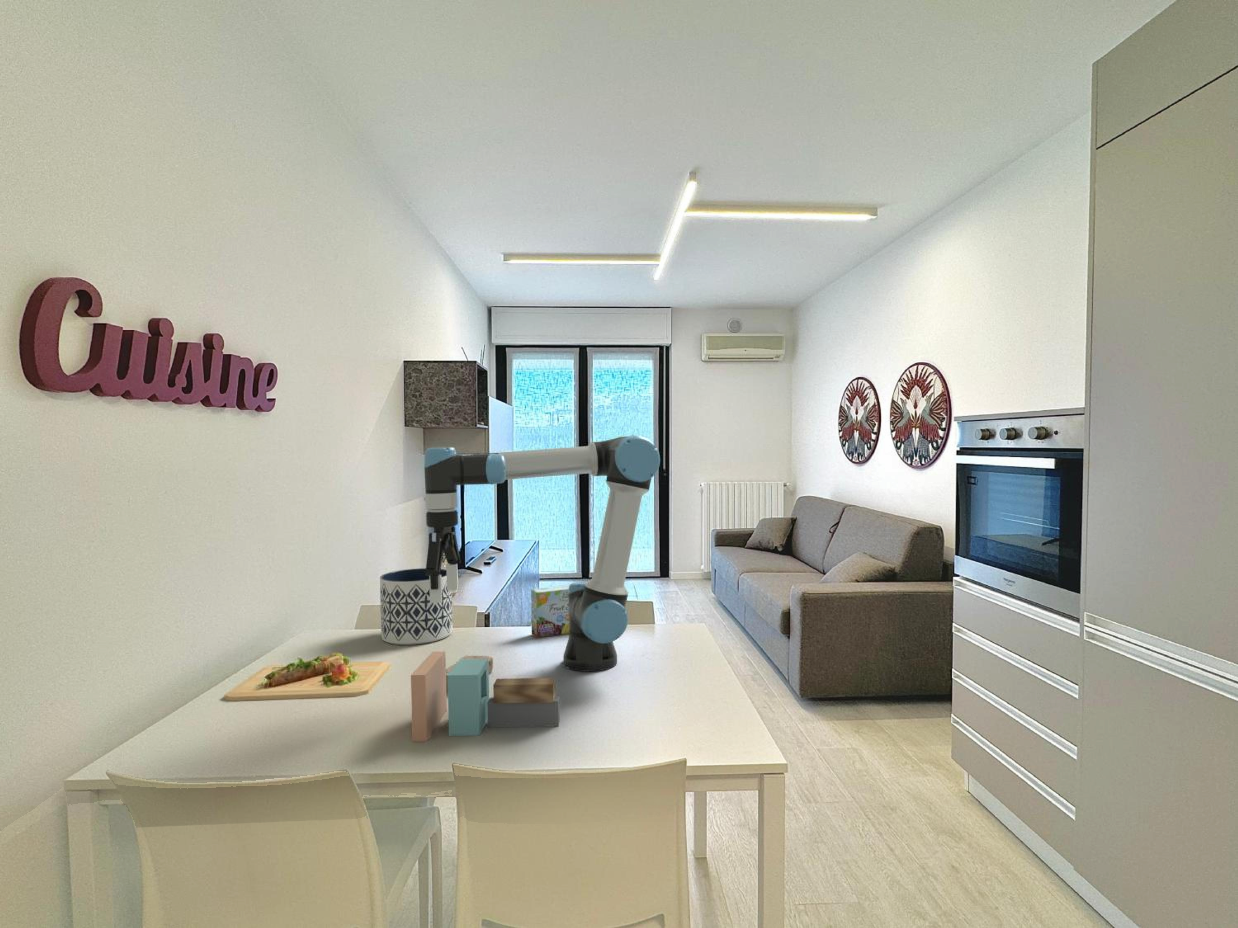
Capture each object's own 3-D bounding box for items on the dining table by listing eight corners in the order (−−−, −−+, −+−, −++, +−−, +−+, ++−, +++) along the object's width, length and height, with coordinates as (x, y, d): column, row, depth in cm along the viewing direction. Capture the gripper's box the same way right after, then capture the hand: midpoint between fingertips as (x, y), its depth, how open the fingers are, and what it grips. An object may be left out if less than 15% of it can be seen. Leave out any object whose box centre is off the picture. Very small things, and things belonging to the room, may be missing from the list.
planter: (390, 628, 230) (388, 569, 229) (456, 625, 232) (455, 566, 231) (373, 647, 207) (371, 582, 207) (447, 644, 210) (446, 579, 209)
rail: (559, 720, 150) (559, 696, 150) (558, 725, 147) (558, 701, 147) (490, 721, 150) (489, 697, 150) (487, 726, 147) (487, 702, 147)
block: (489, 714, 154) (488, 658, 154) (479, 735, 143) (478, 674, 143) (461, 714, 154) (459, 658, 154) (448, 735, 143) (447, 675, 143)
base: (446, 710, 157) (445, 651, 156) (426, 740, 141) (425, 674, 140) (433, 710, 157) (432, 651, 156) (412, 741, 141) (410, 675, 140)
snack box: (537, 639, 214) (536, 592, 214) (531, 634, 219) (530, 588, 219) (597, 629, 224) (596, 584, 223) (590, 625, 229) (589, 581, 228)
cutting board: (392, 667, 190) (391, 641, 190) (366, 698, 167) (365, 668, 167) (265, 671, 188) (264, 645, 188) (221, 703, 165) (220, 673, 165)
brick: (465, 694, 168) (465, 675, 167) (435, 691, 170) (435, 673, 170) (494, 672, 184) (494, 655, 183) (466, 670, 186) (466, 653, 186)
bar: (555, 695, 150) (554, 677, 150) (553, 702, 146) (552, 684, 146) (497, 696, 150) (496, 678, 150) (493, 703, 146) (493, 684, 146)
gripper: (442, 505, 178) (444, 585, 178) (408, 515, 153) (412, 608, 153) (470, 505, 177) (472, 584, 178) (441, 515, 152) (444, 608, 153)
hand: (444, 595), depth 166 cm, fingers open, 13 cm apart
